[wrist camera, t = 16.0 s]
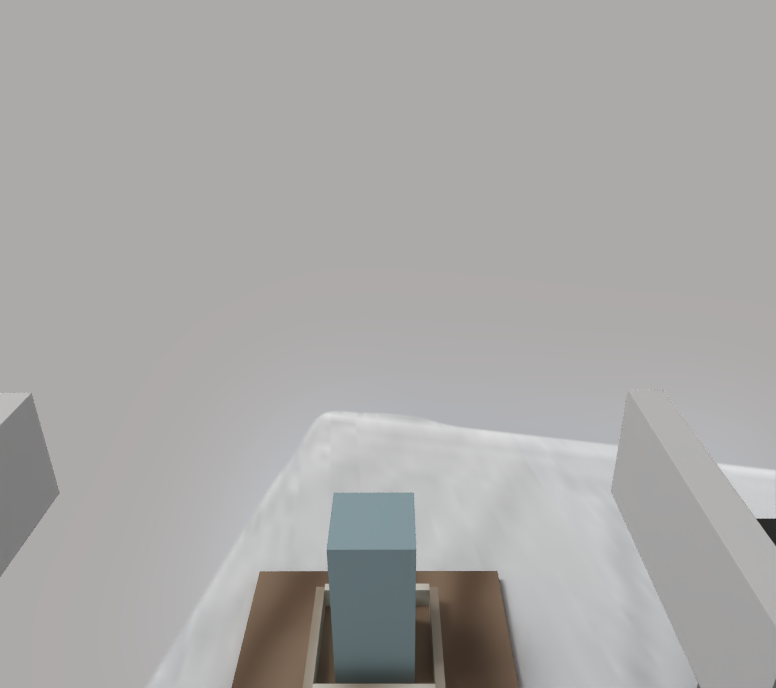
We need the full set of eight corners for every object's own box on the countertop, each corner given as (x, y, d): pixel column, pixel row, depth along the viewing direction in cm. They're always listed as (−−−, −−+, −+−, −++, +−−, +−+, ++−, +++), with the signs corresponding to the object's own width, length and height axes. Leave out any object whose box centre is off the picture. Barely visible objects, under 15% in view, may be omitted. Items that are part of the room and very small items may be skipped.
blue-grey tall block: (412, 619, 47) (413, 492, 42) (414, 683, 42) (416, 549, 38) (341, 619, 47) (334, 492, 42) (335, 683, 42) (326, 549, 38)
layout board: (496, 579, 51) (498, 556, 50) (530, 762, 39) (533, 736, 38) (260, 579, 51) (258, 556, 50) (217, 761, 39) (212, 735, 38)
